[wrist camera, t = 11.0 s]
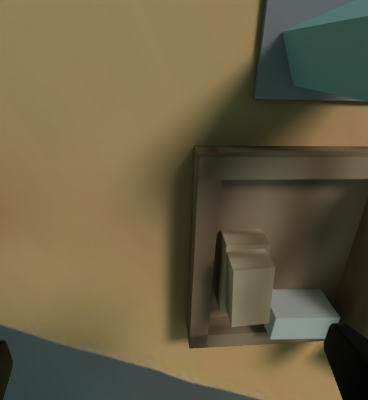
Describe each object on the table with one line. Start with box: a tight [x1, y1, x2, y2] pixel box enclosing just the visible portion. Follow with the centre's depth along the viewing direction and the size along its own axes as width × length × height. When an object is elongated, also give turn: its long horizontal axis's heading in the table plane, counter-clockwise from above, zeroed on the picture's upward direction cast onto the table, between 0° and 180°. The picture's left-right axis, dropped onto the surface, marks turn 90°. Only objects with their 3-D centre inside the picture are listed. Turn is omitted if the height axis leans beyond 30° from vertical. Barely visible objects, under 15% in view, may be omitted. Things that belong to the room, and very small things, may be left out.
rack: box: [187, 146, 368, 348], centre depth 20 cm, size 14×16×7 cm
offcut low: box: [215, 229, 271, 312], centre depth 22 cm, size 3×6×2 cm, turn 179°
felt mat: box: [253, 0, 362, 101], centre depth 17 cm, size 9×7×1 cm
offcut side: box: [264, 289, 340, 340], centre depth 24 cm, size 5×2×3 cm, turn 86°
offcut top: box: [225, 249, 275, 327], centre depth 20 cm, size 3×5×2 cm, turn 3°
